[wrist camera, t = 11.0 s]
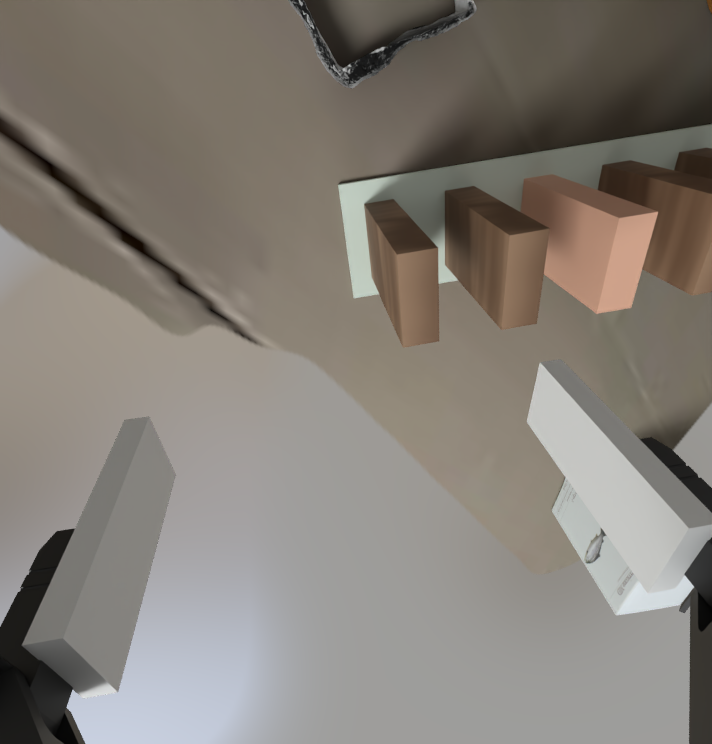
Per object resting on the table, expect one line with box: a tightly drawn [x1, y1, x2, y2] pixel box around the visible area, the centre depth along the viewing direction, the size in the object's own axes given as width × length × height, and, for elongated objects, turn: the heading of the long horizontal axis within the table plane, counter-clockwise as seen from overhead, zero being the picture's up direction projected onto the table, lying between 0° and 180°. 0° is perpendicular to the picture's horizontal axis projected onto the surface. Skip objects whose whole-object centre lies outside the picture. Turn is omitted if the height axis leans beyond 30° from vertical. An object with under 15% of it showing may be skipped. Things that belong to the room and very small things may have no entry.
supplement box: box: [552, 478, 694, 615], centre depth 45 cm, size 7×7×13 cm
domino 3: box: [521, 174, 658, 314], centre depth 26 cm, size 2×5×10 cm, turn 7°
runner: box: [338, 124, 712, 298], centre depth 30 cm, size 8×27×1 cm, turn 97°
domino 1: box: [364, 199, 439, 348], centre depth 26 cm, size 2×5×10 cm, turn 8°
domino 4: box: [598, 160, 712, 295], centre depth 27 cm, size 2×5×10 cm, turn 8°
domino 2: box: [445, 186, 550, 330], centre depth 26 cm, size 2×5×10 cm, turn 8°
